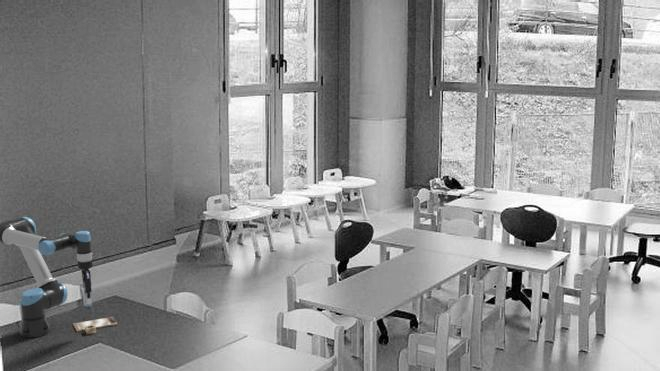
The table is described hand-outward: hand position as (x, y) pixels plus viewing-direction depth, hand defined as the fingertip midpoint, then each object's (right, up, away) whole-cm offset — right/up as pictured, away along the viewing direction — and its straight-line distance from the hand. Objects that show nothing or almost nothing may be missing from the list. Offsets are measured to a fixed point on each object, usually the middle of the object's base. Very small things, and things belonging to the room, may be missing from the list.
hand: (88, 302), depth 432 cm
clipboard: (-1, -14, +15) cm, 20 cm away
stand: (0, -16, +3) cm, 17 cm away
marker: (0, -3, 0) cm, 3 cm away
